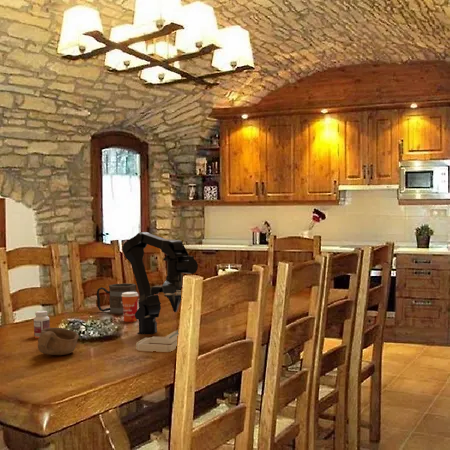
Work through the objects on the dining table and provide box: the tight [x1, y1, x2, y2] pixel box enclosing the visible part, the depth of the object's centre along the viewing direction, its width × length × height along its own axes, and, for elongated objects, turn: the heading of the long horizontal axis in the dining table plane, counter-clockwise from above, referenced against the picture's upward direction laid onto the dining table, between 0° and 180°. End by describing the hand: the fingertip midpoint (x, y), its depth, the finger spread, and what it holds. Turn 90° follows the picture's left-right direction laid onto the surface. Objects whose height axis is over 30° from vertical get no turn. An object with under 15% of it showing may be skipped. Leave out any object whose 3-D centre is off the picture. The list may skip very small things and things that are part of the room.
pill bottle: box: [33, 310, 51, 339], centre depth 264 cm, size 6×6×11 cm
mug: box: [96, 282, 137, 316], centre depth 317 cm, size 20×14×15 cm
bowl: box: [37, 327, 80, 356], centre depth 232 cm, size 18×14×10 cm
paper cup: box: [121, 291, 140, 323], centre depth 294 cm, size 8×8×14 cm
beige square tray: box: [135, 336, 177, 353], centre depth 242 cm, size 14×14×3 cm
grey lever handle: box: [165, 329, 179, 343], centre depth 240 cm, size 3×10×6 cm
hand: (175, 312), depth 256 cm, fingers closed
